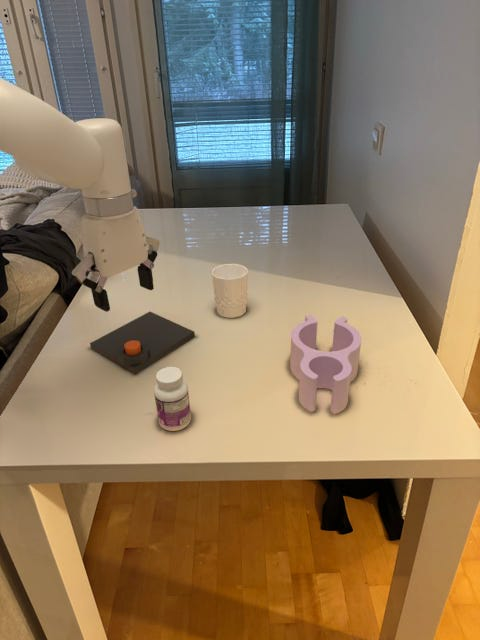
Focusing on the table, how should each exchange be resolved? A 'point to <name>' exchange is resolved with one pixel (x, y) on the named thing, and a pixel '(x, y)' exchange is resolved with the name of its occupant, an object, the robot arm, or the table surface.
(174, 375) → the pill bottle
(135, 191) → the robot arm
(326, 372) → the clip
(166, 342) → the scale
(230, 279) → the white cup
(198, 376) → the table surface
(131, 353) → the button
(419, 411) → the table surface
